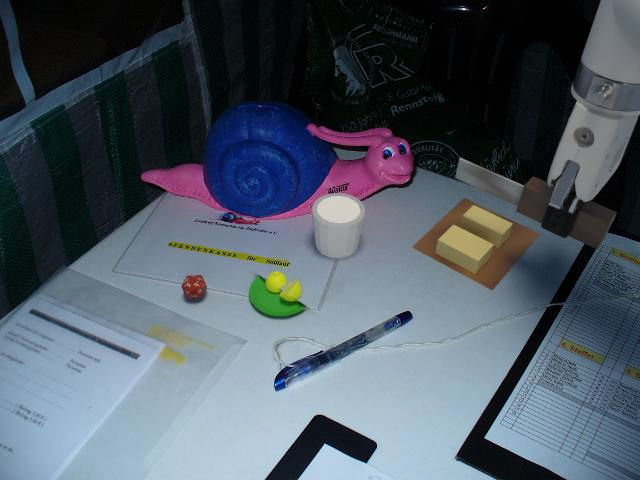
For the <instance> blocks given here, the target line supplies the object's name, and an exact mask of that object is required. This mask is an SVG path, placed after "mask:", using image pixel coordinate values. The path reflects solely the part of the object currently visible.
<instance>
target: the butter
mask: <svg viewBox="0 0 640 480" xmlns="http://www.w3.org/2000/svg"><path fill="white" fill-rule="evenodd" d="M493 245H494V244H492V243H490V242H488V241H486V240H484V239H482V238H480V237H478V236H476V235H474V234H472V233H470V232H468V231H466V230H464V229H462V228H460V227H458V226H456V225H452V226H451V227H450V228H449V229H448V230H447V231H446V232H445V233H444V234H443V235H442V236H441V237H440V238H439V239H438V242H437V246H436V251H435V253H436V254H438V255H440V256H441V257H443V258H445V259H447V260H449V261H451V262H453V263H455V264H456V265H458V266H460V267H462V268H464V269H466V270H468V271H470V272H471V273H473V274H476V273H477V272H478V270H479V269H480V268H481V267H482V266H483V265H484V264H485V263H486V262H487V261H488V259H489V258H490V255H491V252H492V249H493Z"/></svg>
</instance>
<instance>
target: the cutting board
mask: <svg viewBox="0 0 640 480" xmlns="http://www.w3.org/2000/svg"><path fill="white" fill-rule="evenodd" d="M473 205H475V206H477V207H479V208H481V209H483V210H485V211H487V212H489V213H492V214H494V215H496V216H498V217H500V218H502V219H504V220H506V221H508V222H511V223H513V225H512V228H511V231H510V234H509V237H508V238H507V239H506V241H505V242H504V243H503V244H502V245H501V246H500V247H499V248H497V247H495V246H493V249H492V252H491V255H490V258H489V259H488V261H487V262H486V263H485V264H484V265H483V266H482V267H481V268H480V269H479V270H478V272H477V273H476V274H473V273H471V272H470V271H468V270H466V269H464V268H462V267H460V266H458V265H456V264H455V263H453V262H451V261H449V260H447V259H445V258H443V257H441V256H440V255H438V254H436V253H435V251H436V246H437V242H438V239H439V238H440V237H441V236H442V235H443V234H444V233H445V232H446V231H447V230H448V229H449V228H450V227H451V226H452V225H456V226H458V227H460V225H461V221H462V216H463V215H464V214H465V213H466V212H467V211H468V210H469V209H470V208H471V207H472V206H473ZM540 235H541V233H540V232H537V231H536V230H534V229H531V228H529V227H528V226H526V225H523V224H521V223H519V222H517V221H514V220H512V219H510V218H508V217H505V216H504V215H502V214H500V213H497V212H495V211H493V210H491V209H489V208H487V207H485V206H484V205H480V204H478V203H476V202H474V201H472V200H470V199H467V198H465V197H463V198H462V199H461V200H460V201H459V202H458V203H457V204H456V205H455V206H454V207H453V208H452V209H451V210H450V211H448V212H447V213H446V214H445V215H443V217H442V218H441V219H440V220H439V221H438V222H437V223H436V224H434V226H433V227H432V228H430V229H429V230H428V231H427V232H426V233H425V234H424V235H423V236H421V238H420V239H419V240H418V241H417V242H415V243H414V244H413V245H412V246H411V248H413V250H415V251H418V252H419V253H422V254H423V255H425V256H426V257H429V258H431V259H433V260H435V261H437V262H438V263H440V264H442V265H444V266H446V267H448V268H449V269H451V270H452V271H455V272H457V273H458V274H460V275H463V276H465V278H468V279H470V280H471V281H473V282H475V283H477V284H479V285H481V286H482V287H485V288H487V289H488V290H490V291H494V289H495V288H496V287H497V286H498V285H499V283H500V282H501V281H502V280H503V279H504V278H505V276H506V275H507V274H508V273H509V272H510V271H511V270H512V268H513V267H514V266H515V264H517V262H518V261H519V260H520V259H521V257H522V256H523V255H524V254H525V253H526V252H527V250H528V249H529V248H530V247H531V246H532V245H533V244H534V242H535V241H536V240H537V239H538V238H539V236H540Z"/></svg>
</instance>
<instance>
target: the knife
mask: <svg viewBox="0 0 640 480" xmlns="http://www.w3.org/2000/svg"><path fill="white" fill-rule="evenodd" d="M456 167H457V168H456V173H455V176H454V177H455V179H457V180H459V181H461V182H463V183H465V184H467V185H470V186H472V187H473V188H476V189H479V190H480V191H482V192H485V193H487V194H490V195H492V196H493V197H496V198H497V199H500V200H502V201H505V202H507V203H509V204H511V205H513V206H516V210H515V212H516V213H517V214H520V215H522V216H524V217H527V218H529V219H530V220H533V221H535V222H537V223H540V224H541V223H542V220H543V218H544V215H545V212H546V210H547V207H548V204H549V201H550V199H551V197H552V194H553V192H554V189H555V186H556V185H554V186H552V187H550V186H549V185H548V182H547V181H545V180H543V179H540V178H538V177H537V176H532V177H530V179H529V180H528V181H527V182H526V183H525V184H521V183H519V182H517V181H514V180H512V179H510V178H508V177H505V176H503V175H501V174H498V173H496V172H494V171H491V170H490V169H487V168H485V167H482V166H480V165H478V164H475V163H473V162H471V161H469V160H466V159H464V158H462V157H459V159H458V163H457V166H456ZM574 196H575V195H574V194H572V193H569V194H568V197H570V198H572V200H573V198H574ZM576 210H579V212H578V214H577V216H576V219H575V221H574V224H573V226H572V228H571V231H570V233H569V235H568V237H570V238H572V239H574V240H576V241H578V242H581V243H582V244H585V245H587V246H588V247H591V248H593V249H595V250H598V248H599V247H600V246H601V244H602V243H603V242H604V240H605V239H606V236H607V234H608V233H609V230H610V228H611V226H612V224H613V222H614V220H615V217H616V215H617V212H616V210H613V209H610V208H608V207H606V206H603V205H601V204H599V203H596V202H594V201H592V200H590V201H587V202H584V201H583V200H581V199H580V202H579V204H578V207H577V209H576Z"/></svg>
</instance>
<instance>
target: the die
mask: <svg viewBox="0 0 640 480" xmlns="http://www.w3.org/2000/svg"><path fill="white" fill-rule="evenodd" d="M180 288H181V289H182V291H183V294H184V296H185V297H186V299H187V300H192V299H202V298H203V297H204V295H205V293H206V291H207V289H208V285H207V283H206V281H205V279H204V277H203V275H202V274H193V275H186V276H185V278H184V280H183V282H182V284H181V286H180Z"/></svg>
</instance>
